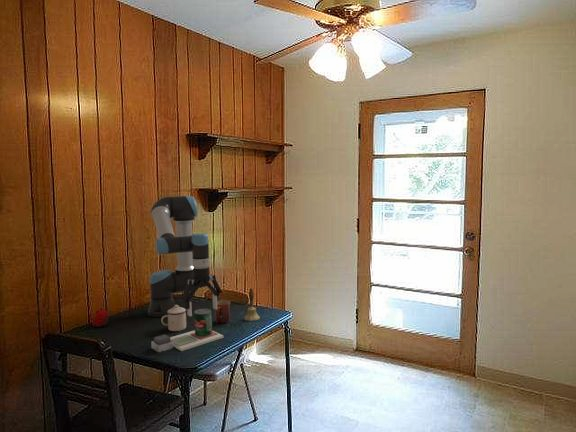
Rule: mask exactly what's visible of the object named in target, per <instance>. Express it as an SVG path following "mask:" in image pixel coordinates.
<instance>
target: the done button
mask: <svg viewBox="0 0 576 432" xmlns="http://www.w3.org/2000/svg"><path fill="white" fill-rule="evenodd" d="M170 337H171V336H169V335H167V334H162V335H158V336H154V337H153V338H154V340H153V341H154V342H155V343H157V344H159V345H161V344H164V343H168V342H171V341H170Z"/></svg>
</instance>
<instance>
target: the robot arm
mask: <svg viewBox="0 0 576 432" xmlns="http://www.w3.org/2000/svg"><path fill="white" fill-rule="evenodd" d="M197 205H198V204H197V201H196V199H195V198H194V196H191V195H180V196H179V195H177V196H164V197H161V198H159V199H157V200H156V201H155V202H154V204H152V206H151V209H150V215H151V219H152V220H153V221H154V224H155V228H156V232H157V238H156V239H155V251H156V253H157V254H158V255H168V254H177V266H176V267H175V268H174V271H172V270H171V269H161V270H158V271H154V272H153V273H151V274H150V276H149V289H150V291H149V292H150V303H149V304H148V305H149V306H148V309H147V315H148V316H149V317H154V318H155V317H156V318H158V317H159V318H162V317H163V316H165V315H168V314H167V311H168V310H169V309H172V308H173V307H174V306H175V305H176V304H175V301H174V298H173V294H177V293H182V296H181V299H180V301H181V302H184V303H185V309H186V313H187V314H186V316H188V317H192V316H193V312H192V311H193V309H192V301H191V300H192V299H193V297H194V295H195V293H196V292H197V290H199V289H202V288H208V289H209V290H210V291H211V292H212V293H213V294H212V309H214V310H215V309H217V302H218V301H219V296H220V295H221V294H222V293H223V291H222V289H221V286H220V284H219V283H218V281H217V277H216V275H214V274H210V252H209V251H210V249H209V248H210V244H209V243H210V240H209V235H208V233H204V232H201V233H193V222H194V221H195V218H196V217H198V213H199V212H198V206H197ZM171 219H173V222H174V223H175V224H176V225H175V226H176V235H175V232H174V229H173V224H172V221H171ZM210 281H211V283H212V284H213V285H212V284H211V283H210Z"/></svg>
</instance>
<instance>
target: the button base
mask: <svg viewBox="0 0 576 432" xmlns="http://www.w3.org/2000/svg"><path fill="white" fill-rule="evenodd" d="M170 341H171V342H168V343H164V344H161V345H159V344H157V343H155V342H154V340H152V341H151V344H150V345H151V349H152V350H154V351H156V352H157V353H162V351H163V352H165V351H169V350H173V349H175V347H174V341H172V340H170Z"/></svg>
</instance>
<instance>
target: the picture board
mask: <svg viewBox="0 0 576 432" xmlns="http://www.w3.org/2000/svg"><path fill="white" fill-rule="evenodd" d="M169 337H170V340H172V341H174V349H176V350H179V351H181V352H183V351H187V350H190V349H193V348H196V347H198V346H202V345H204V344H208V343H211V342H214V341H217V340H220V339H224V335H223V334H222V333H219V332H217V331H214V330H212V335H210V336H207V337H197V336H195V329H193V330H191V331H187V332H185V333H184V332H183V333H181V334H177V335H175V336H169Z"/></svg>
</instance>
